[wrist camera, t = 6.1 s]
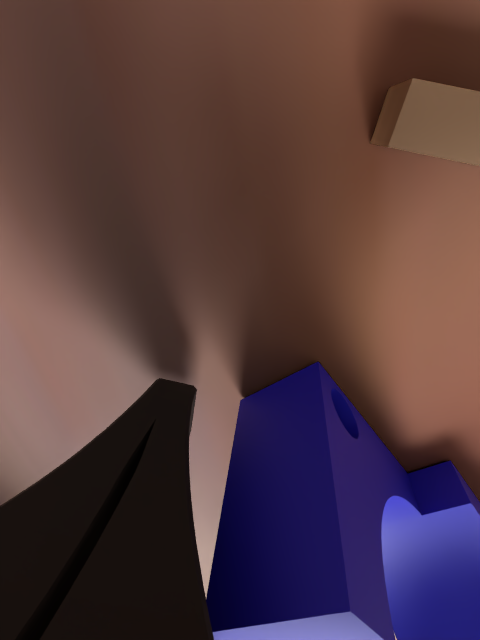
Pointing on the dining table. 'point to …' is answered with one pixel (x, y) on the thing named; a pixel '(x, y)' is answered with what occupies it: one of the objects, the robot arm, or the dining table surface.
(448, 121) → the corral
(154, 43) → the dining table surface
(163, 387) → the robot arm
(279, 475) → the cable clip
